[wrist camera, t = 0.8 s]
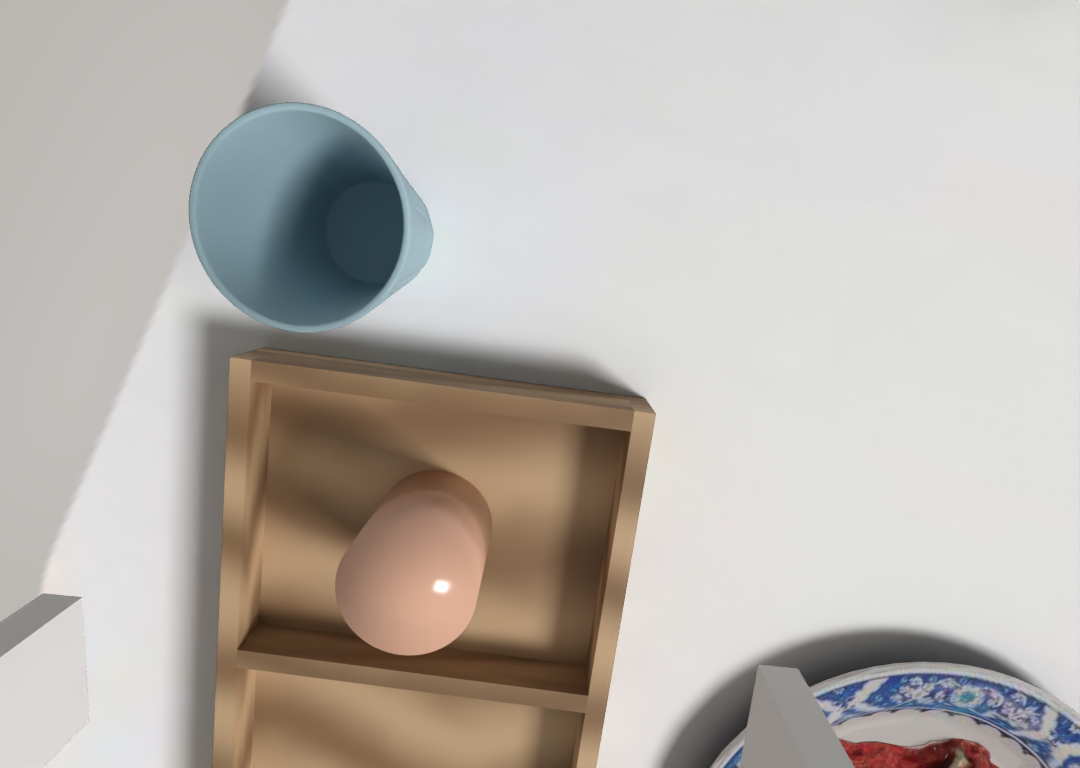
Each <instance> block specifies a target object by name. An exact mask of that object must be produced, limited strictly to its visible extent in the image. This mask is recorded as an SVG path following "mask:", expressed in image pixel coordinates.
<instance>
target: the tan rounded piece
mask: <svg viewBox="0 0 1080 768" xmlns="http://www.w3.org/2000/svg"><path fill="white" fill-rule="evenodd" d="M491 535H492V517H491V512H490V509H489V507H488V504H487V502H486V500H485V498H484V497H483V496H482V494H481V493H480V491H479V490H478V489H477V488H476V487H475V486H474V485H472V484H471V483H470V482H469V481H467V480H466V479H464V478H462V477H460V476H458V475H456V474H453V473H450V472H446V471H439V470H428V471H421V472H417V473H414V474H411V475H409V476H407V477H405V478H404V479H402V480H400V481H399V482H398V483H397V484H396V485H394V486H393V487H392V489H391V490H390V491H389V492H388V494H387V495H386V496H385V498H384V499H383V501H382V502H381V503H380V505H379V506H378V507H377V509H376V510H375V512H374V513H373V514H372V516H371V517H370V519H369V520H368V521H367V523H366V524H365V526H364V527H363V528H362V530H361V531H360V533H359V534H358V535H357V537H356V538H355V540H354V541H353V542H352V544H351V545H350V547H349V548H348V549H347V551H346V552H345V554H344V555H343V557H342V559H341V561H340V563H339V566H338V569H337V573H336V579H335V594H336V600H337V604H338V607H339V610H340V612H341V614H342V616H343V618H344V620H345V621H346V623H347V624H348V626H349V627H350V628H351V629H352V630H353V631H354V632H355V633H356V634H357V635H358V636H359V637H360V638H361V639H362V640H364V641H365V642H367V643H368V644H370V645H372V646H373V647H375V648H378V649H380V650H382V651H385V652H388V653H392V654H398V655H421V654H427V653H430V652H433V651H436V650H438V649H441V648H443V647H445V646H446V645H448V644H450V643H451V642H452V641H454V640H455V639H456V638H457V637H458V636H459V635H460V634H461V633H462V632H463V631H464V629H465V628H466V627H467V625H468V624H469V622H470V620H471V618H472V616H473V613H474V610H475V606H476V602H477V598H478V593H479V589H480V584H481V580H482V575H483V571H484V566H485V562H486V558H487V553H488V549H489V544H490V540H491Z"/></svg>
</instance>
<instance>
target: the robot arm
mask: <svg viewBox="0 0 1080 768" xmlns="http://www.w3.org/2000/svg"><path fill="white" fill-rule="evenodd" d="M88 722H89V705H88V688H87V671H86V654H85V637H84V620H83V603H82V597H74V596H64V595H53V594H41V595H40V596H39V597H37V598H36V599H34V600H33V601H31V602H30V603H28V604H27V605H25V606H24V607H22V608H21V609H19V610H18V611H16V612H15V613H13V614H12V615H10V616H9V617H7V618H6V619H4V620H3V621H1V622H0V768H43V767H44V766H45V765H46V764H47V763H48V762H49V761H50V760H51V759H52V758H53V757H54V756H55V755H56V754H57V753H58V752H59V751H60V750H61V749H62V748H63V747H64V746H65V745H66V744H67V743H68V742H69V741H70V740H71V739H72V738H73V737H74V736H75V735H76V734H77V733H78V732H79V731H80V730H81V729H82V728H83V727H84V726H85V725H86V724H87V723H88ZM740 768H855V767H854V765H853V764H852V762H851V760H850V758H849V757H848V755H847V753H846V751H845V750H844V748H843V746H842V744H841V743H840V741H839V739H838V737H837V736H836V734H835V732H834V730H833V729H832V727H831V725H830V723H829V722H828V720H827V718H826V716H825V715H824V713H823V711H822V709H821V708H820V706H819V704H818V702H817V701H816V699H815V697H814V695H813V694H812V692H811V690H810V688H809V687H808V685H807V683H806V681H805V680H804V678H803V676H802V674H801V673H800V671H799V669H798V668H789V667H779V666H769V665H759V664H758V669H757V674H756V680H755V685H754V691H753V696H752V702H751V707H750V713H749V718H748V724H747V729H746V735H745V740H744V746H743V751H742V757H741V762H740Z"/></svg>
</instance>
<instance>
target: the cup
mask: <svg viewBox="0 0 1080 768" xmlns="http://www.w3.org/2000/svg"><path fill="white" fill-rule="evenodd" d="M189 223H190V229H191V235H192V239H193V243H194V246H195V249H196V252H197V255H198V257H199V260H200V262H201V264H202V266H203V268H204V270H205V271H206V273H207V275H208V276H209V278H210V279H211V281H212V282H213V283H214V285H215V286H216V287H217V288H218V290H219V291H220V292H221V293H222V294H223V295H224V296H225V297H226V298H227V299H228V300H229V301H230V302H231V303H232V304H233V305H234V306H236V307H237V308H238V309H240V310H241V311H242V312H244V313H245V314H247V315H249V316H250V317H252V318H254V319H256V320H257V321H260V322H262V323H264V324H267V325H269V326H272V327H275V328H279V329H283V330H288V331H294V332H320V331H327V330H331V329H335V328H339V327H342V326H345V325H347V324H350V323H352V322H354V321H356V320H358V319H360V318H361V317H363V316H364V315H366V314H367V313H369V312H370V311H371V310H373V309H374V308H375V307H377V306H378V305H379V304H381V303H382V302H383V301H384V300H386V299H387V298H388V297H390V296H391V295H392V294H394V293H395V292H397V291H398V290H399V289H401V288H402V287H403V286H405V285H406V284H407V283H409V282H410V281H411V280H412V279H413V278H415V277H416V276H417V274H418V273H419V272H420V270H421V269H422V268H423V267H424V265H425V264H426V262H427V261H428V259H429V256H430V252H431V247H432V243H433V228H432V225H431V220H430V217H429V213H428V210H427V208H426V206H425V204H424V203H423V201H422V200H421V198H420V197H419V196H418V194H417V193H416V192H415V190H414V189H413V187H412V186H411V185H410V183H409V182H408V181H407V179H406V178H405V177H404V175H403V174H402V173H401V171H400V170H399V168H398V167H397V165H396V164H395V162H394V161H393V160H392V158H391V157H390V155H389V154H388V153H387V151H386V150H385V149H384V147H383V146H382V145H381V144H380V143H379V142H378V141H377V140H376V139H375V138H374V137H373V136H372V135H371V134H370V133H369V132H368V131H367V130H366V129H364V128H363V127H362V126H360V125H359V124H358V123H356V122H355V121H353V120H352V119H350V118H348V117H346V116H344V115H342V114H341V113H338V112H336V111H334V110H331V109H328V108H325V107H321V106H317V105H313V104H306V103H279V104H272V105H268V106H264V107H261V108H258V109H255V110H253V111H250V112H248V113H246V114H244V115H242V116H240V117H239V118H237V119H236V120H234V121H233V122H231V123H230V124H229V125H228V126H227V127H225V128H224V129H223V130H222V131H221V132H220V133H219V134H218V135H217V136H216V137H215V138H214V139H213V141H212V142H211V143H210V145H209V146H208V147H207V149H206V150H205V152H204V154H203V156H202V157H201V159H200V162H199V164H198V167H197V168H196V171H195V174H194V177H193V181H192V185H191V190H190V196H189Z"/></svg>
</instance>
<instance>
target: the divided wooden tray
mask: <svg viewBox="0 0 1080 768" xmlns="http://www.w3.org/2000/svg"><path fill="white" fill-rule="evenodd" d="M655 416H656V413H655V412H654V410H653V409H652V407H651V406H650V405H649V403H648V402H647V400H646V399H645V398H638V397H630V396H623V395H615V394H608V393H600V392H593V391H585V390H578V389H570V388H563V387H555V386H548V385H540V384H533V383H525V382H518V381H510V380H503V379H495V378H488V377H480V376H472V375H465V374H457V373H450V372H442V371H435V370H427V369H420V368H412V367H405V366H397V365H390V364H382V363H375V362H367V361H360V360H352V359H345V358H337V357H330V356H322V355H315V354H307V353H299V352H292V351H284V350H277V349H269V348H260V349H257V350H253V351H250V352H246V353H243V354H240V355H236V356H233V357H230V367H229V390H228V413H227V437H226V460H225V483H224V506H223V530H222V553H221V576H220V600H219V623H218V646H217V670H216V693H215V716H214V740H213V763H212V768H596V765H597V759H598V753H599V747H600V741H601V735H602V729H603V723H604V718H605V712H606V706H607V700H608V694H609V688H610V682H611V676H612V670H613V664H614V658H615V652H616V647H617V641H618V635H619V629H620V623H621V617H622V611H623V605H624V599H625V593H626V587H627V582H628V576H629V570H630V564H631V558H632V552H633V546H634V540H635V534H636V528H637V522H638V517H639V511H640V505H641V499H642V493H643V487H644V481H645V475H646V469H647V463H648V457H649V452H650V446H651V440H652V434H653V428H654V422H655ZM428 470H439V471H446V472H450V473H453V474H456V475H458V476H460V477H462V478H464V479H466V480H467V481H469V482H470V483H471V484H472V485H474V486H475V487H476V488H477V489H478V490H479V491H480V493H481V494H482V496H483V497H484V498H485V500H486V502H487V504H488V507H489V509H490V512H491V517H492V535H491V540H490V544H489V549H488V553H487V558H486V562H485V566H484V571H483V575H482V580H481V584H480V589H479V593H478V598H477V602H476V606H475V610H474V613H473V616H472V618H471V620H470V622H469V624H468V625H467V627H466V628H465V629H464V631H463V632H462V633H461V634H460V635H459V636H458V637H457V638H456V639H455V640H454V641H452V642H451V643H450V644H448V645H446V646H445V647H443V648H441V649H438V650H436V651H433V652H430V653H427V654H421V655H398V654H392V653H388V652H385V651H382V650H380V649H378V648H375V647H373V646H372V645H370V644H368V643H367V642H365V641H364V640H362V639H361V638H360V637H359V636H358V635H357V634H356V633H355V632H354V631H353V630H352V629H351V628H350V627H349V626H348V624H347V623H346V621H345V620H344V618H343V616H342V614H341V612H340V610H339V607H338V604H337V600H336V594H335V579H336V573H337V569H338V566H339V563H340V561H341V559H342V557H343V555H344V554H345V552H346V551H347V549H348V548H349V547H350V545H351V544H352V542H353V541H354V540H355V538H356V537H357V535H358V534H359V533H360V531H361V530H362V528H363V527H364V526H365V524H366V523H367V521H368V520H369V519H370V517H371V516H372V514H373V513H374V512H375V510H376V509H377V507H378V506H379V505H380V503H381V502H382V501H383V499H384V498H385V496H386V495H387V494H388V492H389V491H390V490H391V489H392V487H393V486H394V485H396V484H397V483H398V482H399V481H400V480H402V479H404V478H405V477H407V476H409V475H411V474H414V473H417V472H421V471H428Z"/></svg>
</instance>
